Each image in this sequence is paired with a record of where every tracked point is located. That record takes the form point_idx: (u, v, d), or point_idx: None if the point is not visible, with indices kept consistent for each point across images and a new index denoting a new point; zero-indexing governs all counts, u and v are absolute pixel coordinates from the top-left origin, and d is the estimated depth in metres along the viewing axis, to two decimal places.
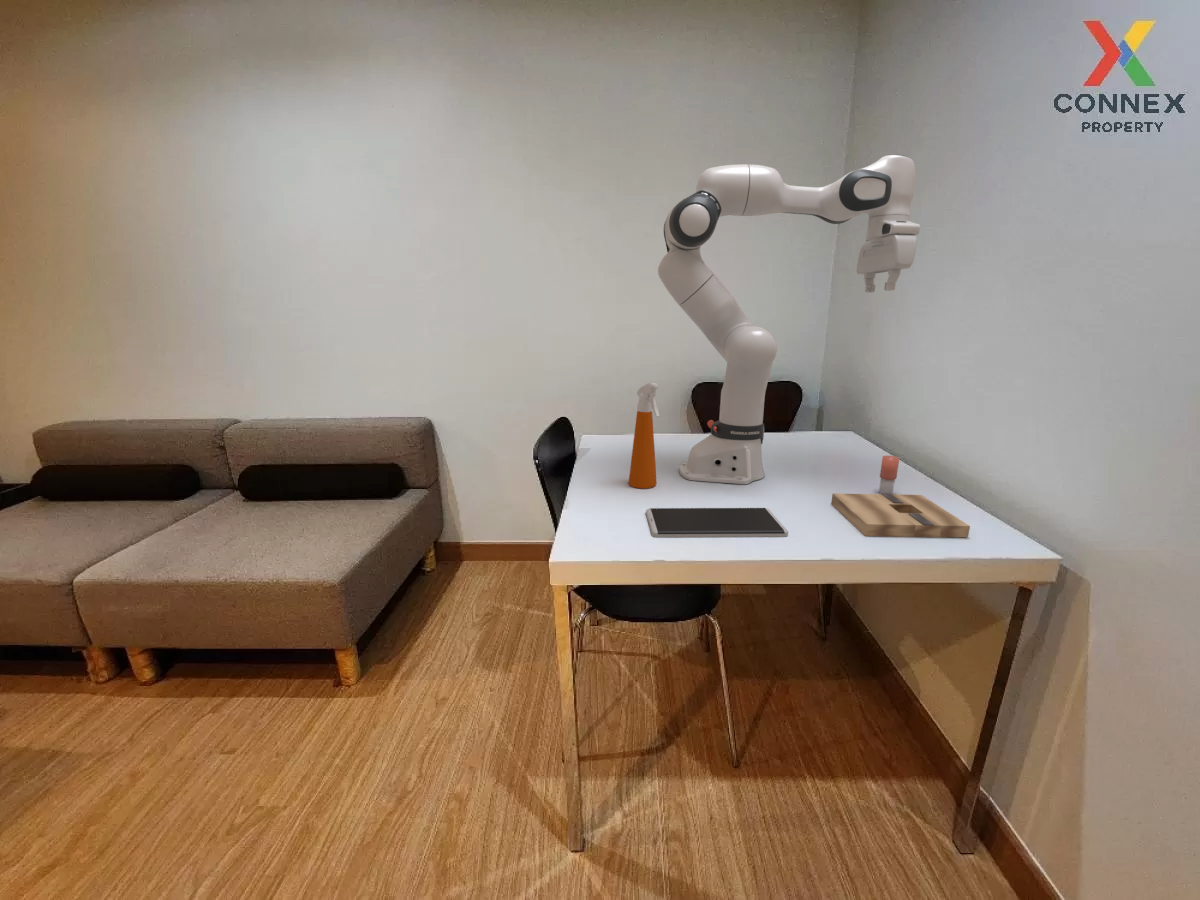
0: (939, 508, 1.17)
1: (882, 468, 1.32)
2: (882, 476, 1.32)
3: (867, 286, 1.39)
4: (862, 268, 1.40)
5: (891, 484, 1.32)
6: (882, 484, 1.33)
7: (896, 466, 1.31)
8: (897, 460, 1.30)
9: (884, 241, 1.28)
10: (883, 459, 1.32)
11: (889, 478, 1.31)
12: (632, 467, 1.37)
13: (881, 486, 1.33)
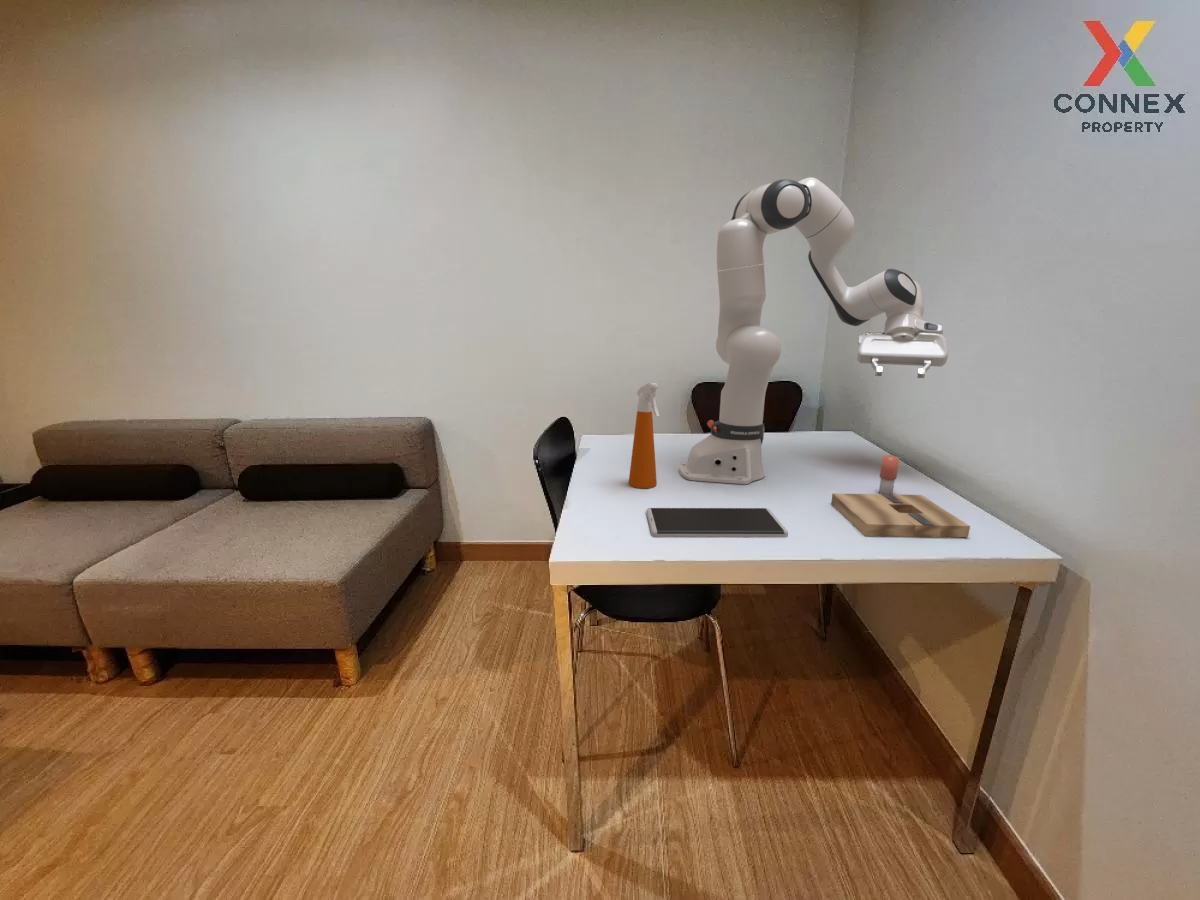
0: (939, 508, 1.17)
1: (882, 468, 1.32)
2: (882, 476, 1.32)
3: (880, 368, 1.39)
4: (873, 351, 1.42)
5: (891, 484, 1.32)
6: (882, 484, 1.33)
7: (896, 466, 1.31)
8: (897, 460, 1.30)
9: (923, 336, 1.39)
10: (883, 459, 1.32)
11: (889, 478, 1.31)
12: (632, 467, 1.37)
13: (881, 486, 1.33)
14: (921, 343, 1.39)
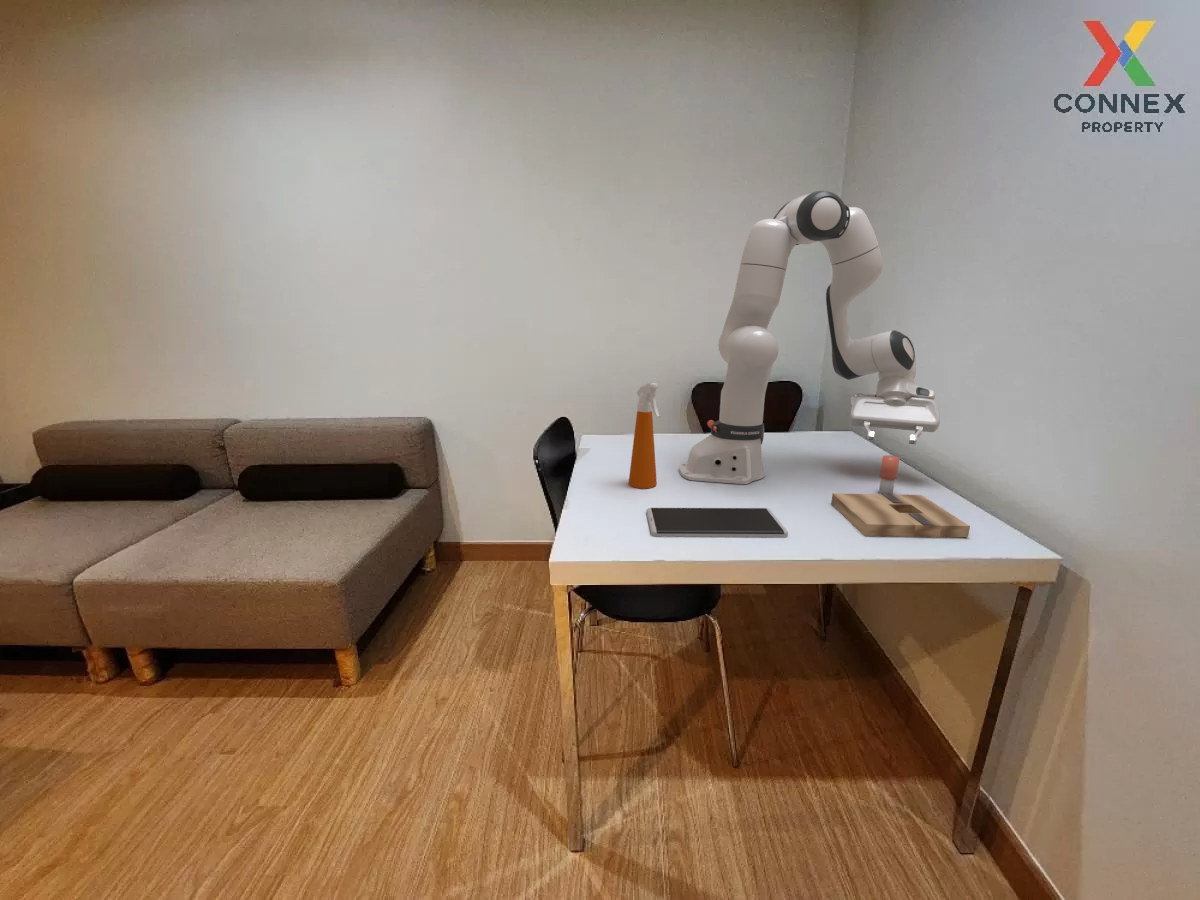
0: (939, 508, 1.17)
1: (882, 468, 1.32)
2: (882, 476, 1.32)
3: (871, 432, 1.39)
4: (865, 415, 1.41)
5: (891, 484, 1.32)
6: (882, 484, 1.33)
7: (896, 466, 1.31)
8: (897, 460, 1.30)
9: (915, 401, 1.38)
10: (883, 459, 1.32)
11: (889, 478, 1.31)
12: (632, 467, 1.37)
13: (881, 486, 1.33)
14: (913, 408, 1.39)
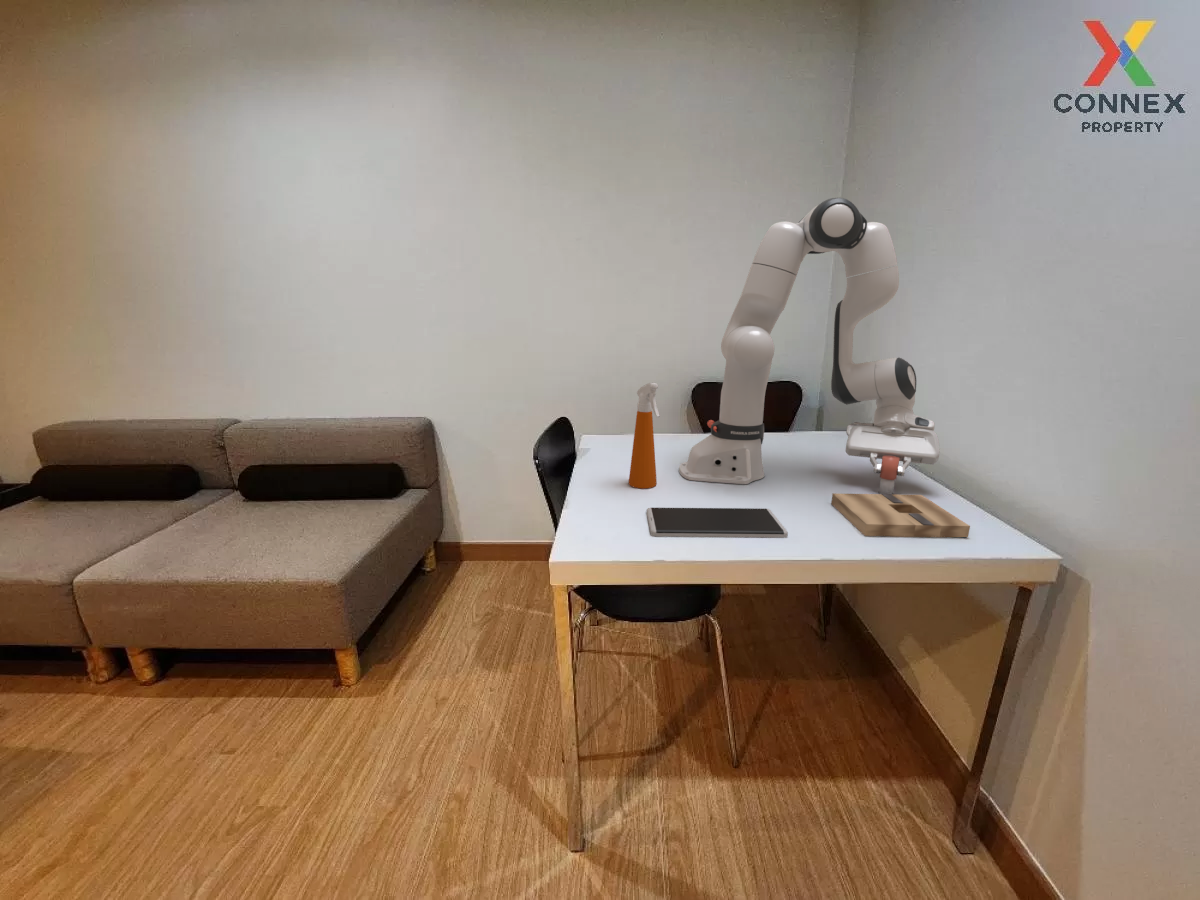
0: (939, 508, 1.17)
1: (882, 468, 1.32)
2: (882, 476, 1.32)
3: (879, 465, 1.33)
4: (862, 445, 1.36)
5: (891, 484, 1.32)
6: (882, 484, 1.33)
7: (896, 466, 1.31)
8: (897, 460, 1.30)
9: (914, 431, 1.33)
10: (883, 459, 1.32)
11: (889, 478, 1.31)
12: (632, 467, 1.37)
13: (881, 486, 1.33)
14: (912, 439, 1.33)
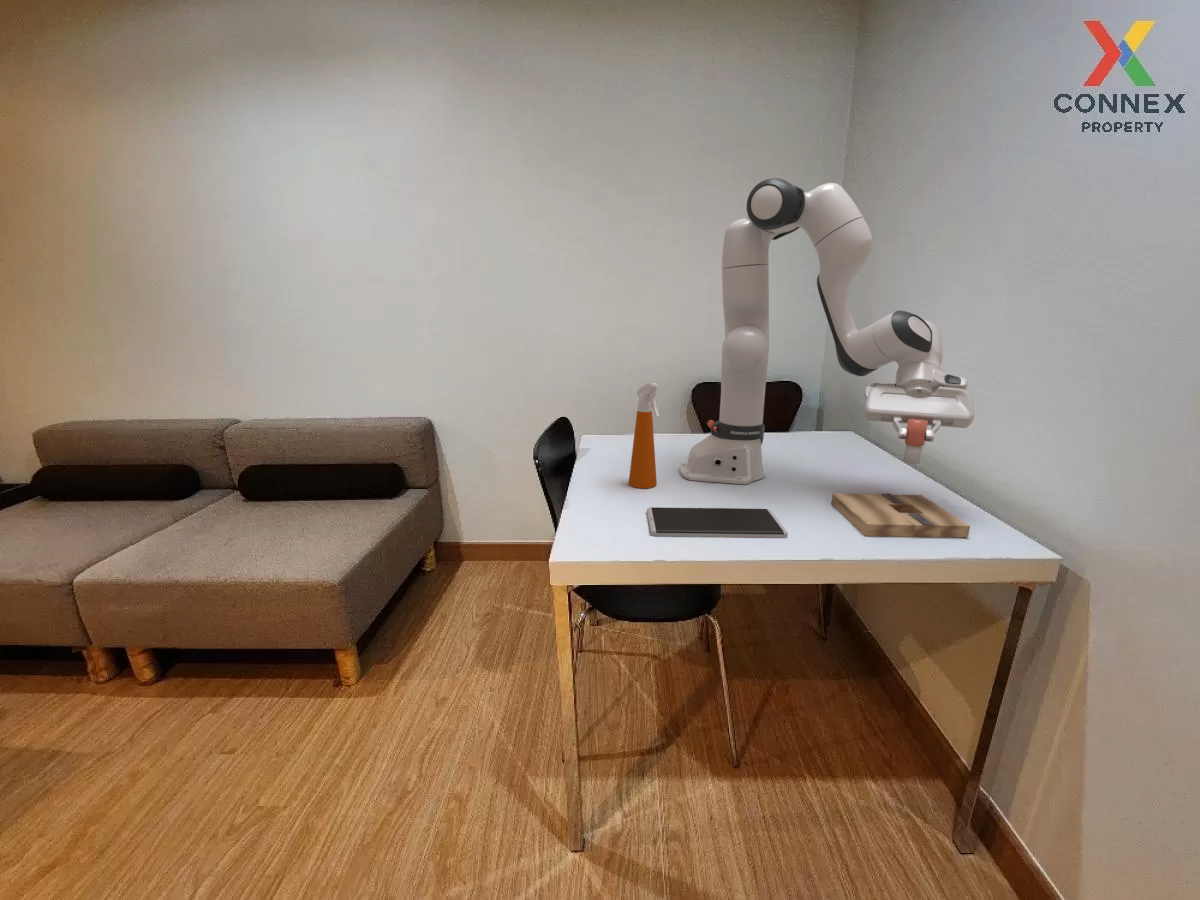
0: (939, 508, 1.17)
1: (908, 433, 1.15)
2: (908, 442, 1.15)
3: (904, 430, 1.16)
4: (883, 408, 1.18)
5: (919, 451, 1.15)
6: (908, 451, 1.16)
7: (924, 430, 1.13)
8: (925, 423, 1.13)
9: (943, 391, 1.16)
10: (909, 422, 1.14)
11: (916, 444, 1.14)
12: (632, 467, 1.37)
13: (906, 454, 1.16)
14: (941, 399, 1.16)
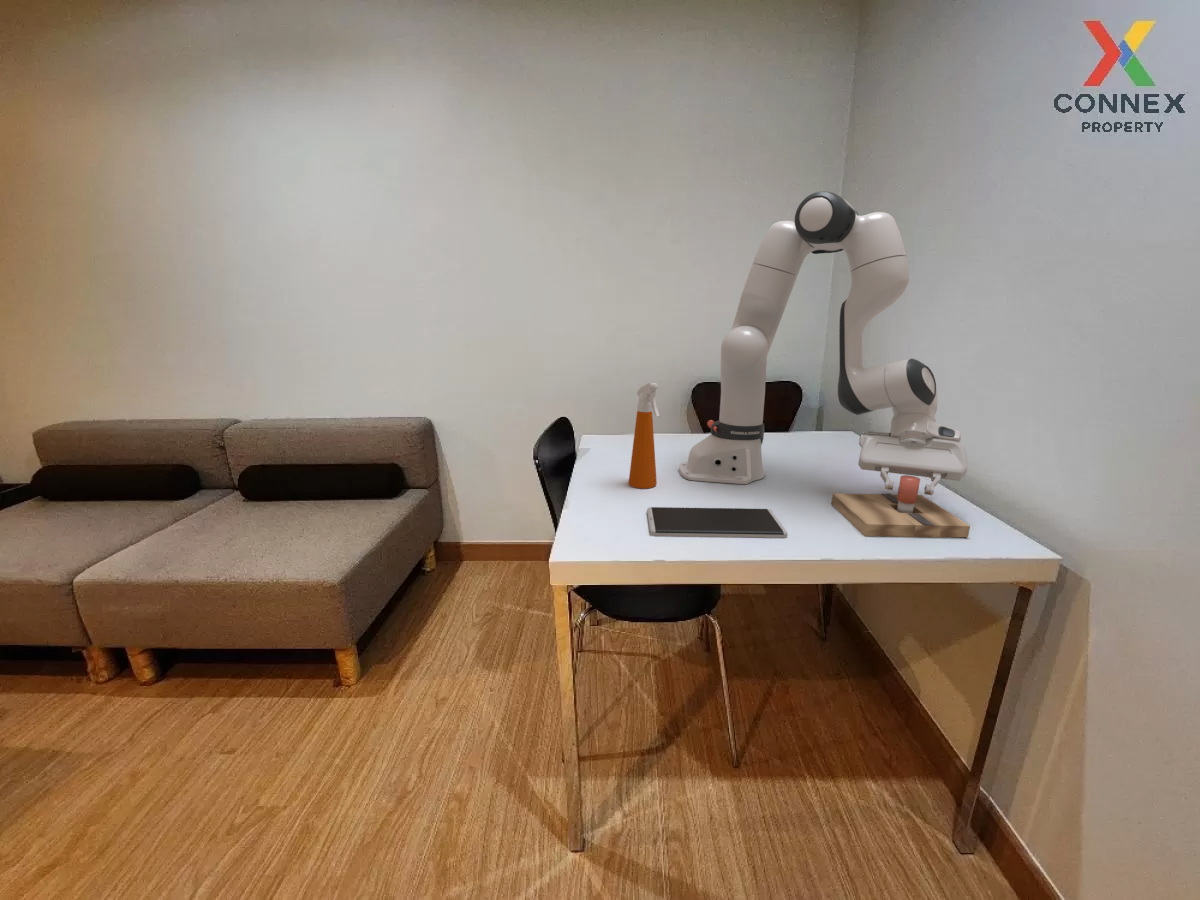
0: (939, 508, 1.17)
1: (900, 490, 1.16)
2: (900, 499, 1.16)
3: (891, 481, 1.17)
4: (877, 458, 1.19)
5: (911, 508, 1.16)
6: (900, 508, 1.17)
7: (916, 488, 1.14)
8: (918, 481, 1.14)
9: (937, 443, 1.16)
10: (901, 480, 1.15)
11: (908, 502, 1.15)
12: (632, 467, 1.37)
13: (899, 510, 1.17)
14: (935, 451, 1.17)
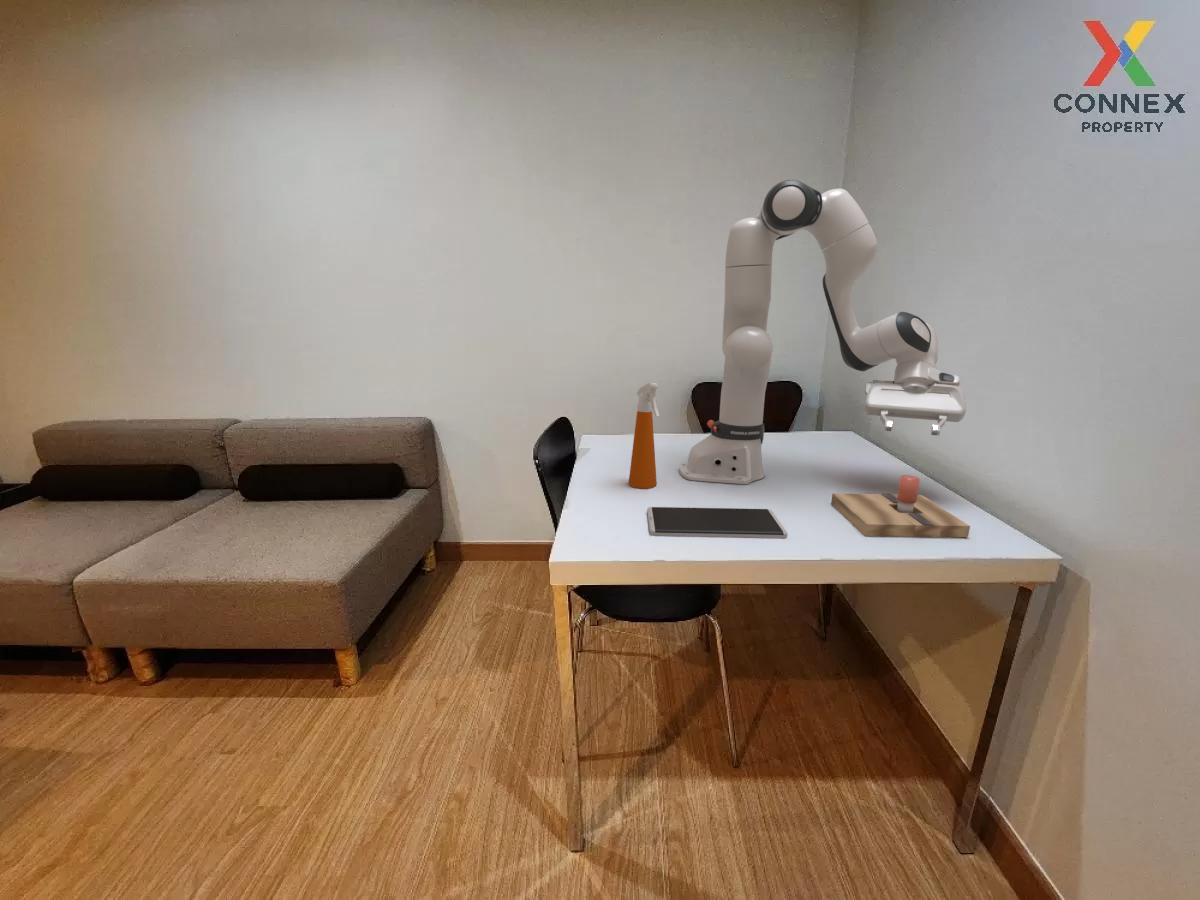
0: (939, 508, 1.17)
1: (900, 490, 1.16)
2: (900, 499, 1.16)
3: (889, 422, 1.26)
4: (882, 403, 1.28)
5: (911, 508, 1.16)
6: (900, 508, 1.17)
7: (916, 488, 1.14)
8: (917, 481, 1.14)
9: (938, 387, 1.25)
10: (901, 479, 1.15)
11: (908, 501, 1.15)
12: (632, 467, 1.37)
13: (899, 510, 1.17)
14: (935, 395, 1.25)
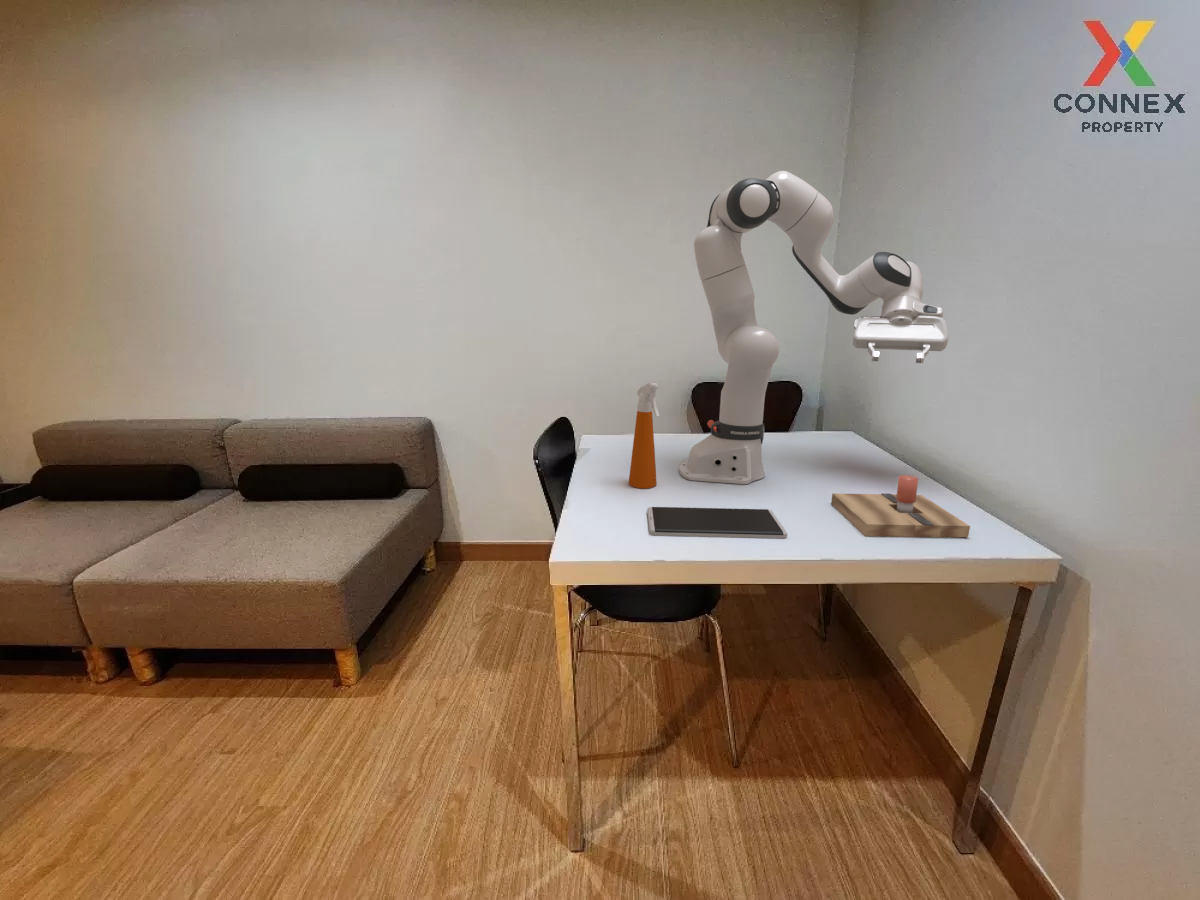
0: (939, 508, 1.17)
1: (899, 490, 1.16)
2: (899, 499, 1.16)
3: (876, 353, 1.33)
4: (869, 335, 1.35)
5: (910, 507, 1.16)
6: (899, 508, 1.16)
7: (915, 487, 1.14)
8: (916, 480, 1.14)
9: (922, 319, 1.32)
10: (900, 480, 1.15)
11: (908, 501, 1.15)
12: (632, 467, 1.37)
13: (898, 510, 1.17)
14: (920, 327, 1.32)
